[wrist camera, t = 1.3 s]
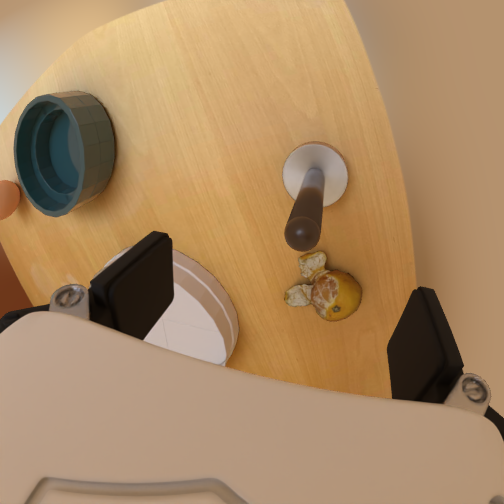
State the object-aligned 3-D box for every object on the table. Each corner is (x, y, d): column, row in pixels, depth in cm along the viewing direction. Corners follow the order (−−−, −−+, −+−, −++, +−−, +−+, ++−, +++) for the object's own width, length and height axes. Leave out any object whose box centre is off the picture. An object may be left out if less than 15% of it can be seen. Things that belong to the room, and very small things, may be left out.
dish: (238, 378, 45) (229, 402, 41) (122, 344, 49) (108, 362, 45) (240, 258, 34) (227, 281, 30) (94, 233, 39) (72, 248, 34)
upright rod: (290, 136, 27) (244, 168, 13) (351, 148, 26) (377, 193, 12) (282, 194, 30) (234, 280, 16) (340, 206, 29) (345, 303, 15)
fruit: (305, 243, 32) (301, 259, 28) (374, 269, 31) (378, 287, 28) (281, 301, 36) (276, 320, 33) (344, 322, 35) (344, 343, 32)
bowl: (43, 97, 31) (12, 103, 26) (119, 85, 28) (84, 86, 23) (48, 195, 38) (20, 209, 33) (120, 207, 36) (90, 225, 30)
